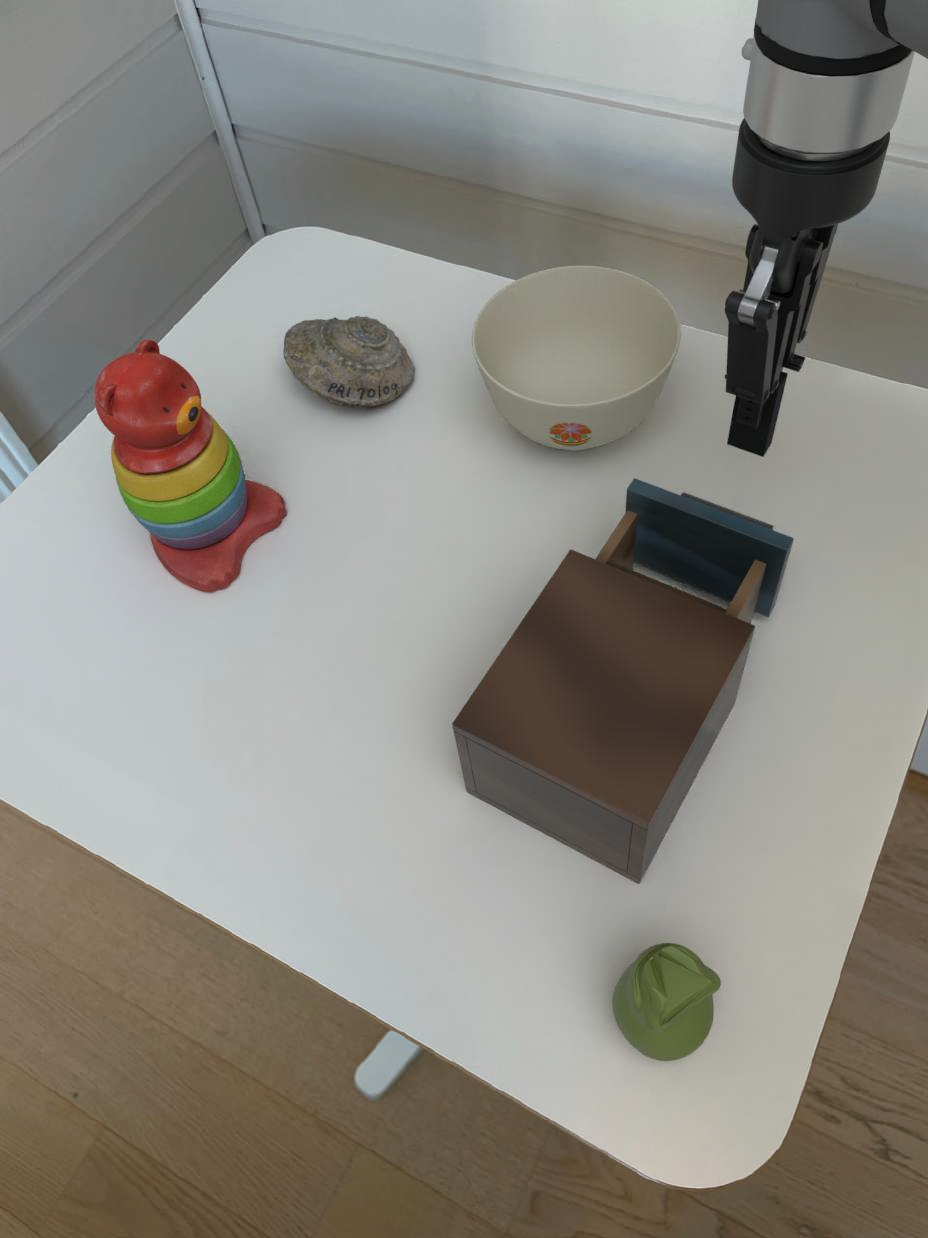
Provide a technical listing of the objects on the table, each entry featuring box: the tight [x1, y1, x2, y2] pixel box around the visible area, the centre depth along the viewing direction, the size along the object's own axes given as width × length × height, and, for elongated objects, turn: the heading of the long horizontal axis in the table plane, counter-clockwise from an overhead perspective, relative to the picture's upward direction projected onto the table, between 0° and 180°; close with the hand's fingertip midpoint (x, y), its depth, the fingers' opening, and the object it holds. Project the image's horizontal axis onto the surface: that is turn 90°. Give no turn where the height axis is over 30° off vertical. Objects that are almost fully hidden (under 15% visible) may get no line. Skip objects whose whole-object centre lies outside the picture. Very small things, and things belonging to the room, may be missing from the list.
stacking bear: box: [93, 339, 288, 593], centre depth 75 cm, size 11×10×18 cm
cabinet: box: [451, 549, 756, 885], centre depth 65 cm, size 15×13×10 cm
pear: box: [612, 942, 722, 1062], centre depth 54 cm, size 6×5×10 cm
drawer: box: [595, 477, 795, 624], centre depth 69 cm, size 18×12×8 cm, turn 148°
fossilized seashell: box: [282, 315, 416, 408], centre depth 90 cm, size 11×11×7 cm
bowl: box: [471, 265, 682, 452], centre depth 81 cm, size 16×16×10 cm
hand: (749, 443), depth 71 cm, fingers closed
